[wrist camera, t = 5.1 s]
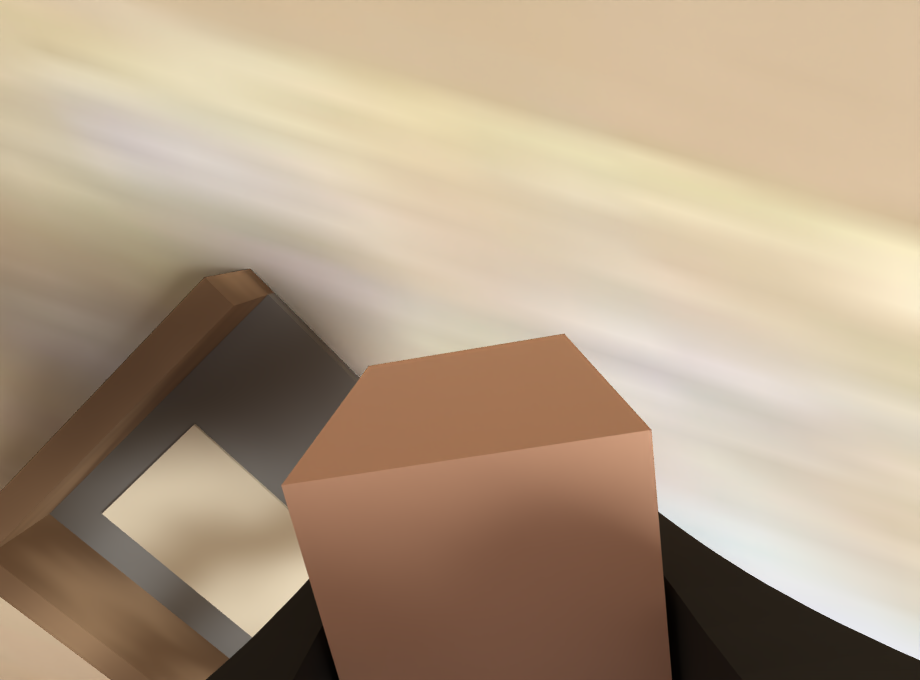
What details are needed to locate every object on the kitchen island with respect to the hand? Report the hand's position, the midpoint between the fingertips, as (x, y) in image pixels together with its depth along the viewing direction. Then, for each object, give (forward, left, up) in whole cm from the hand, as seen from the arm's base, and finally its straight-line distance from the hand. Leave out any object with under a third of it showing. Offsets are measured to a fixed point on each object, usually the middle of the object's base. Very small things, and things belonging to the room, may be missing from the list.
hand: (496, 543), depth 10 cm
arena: (+1, +10, -8) cm, 13 cm away
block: (0, 0, -1) cm, 1 cm away
